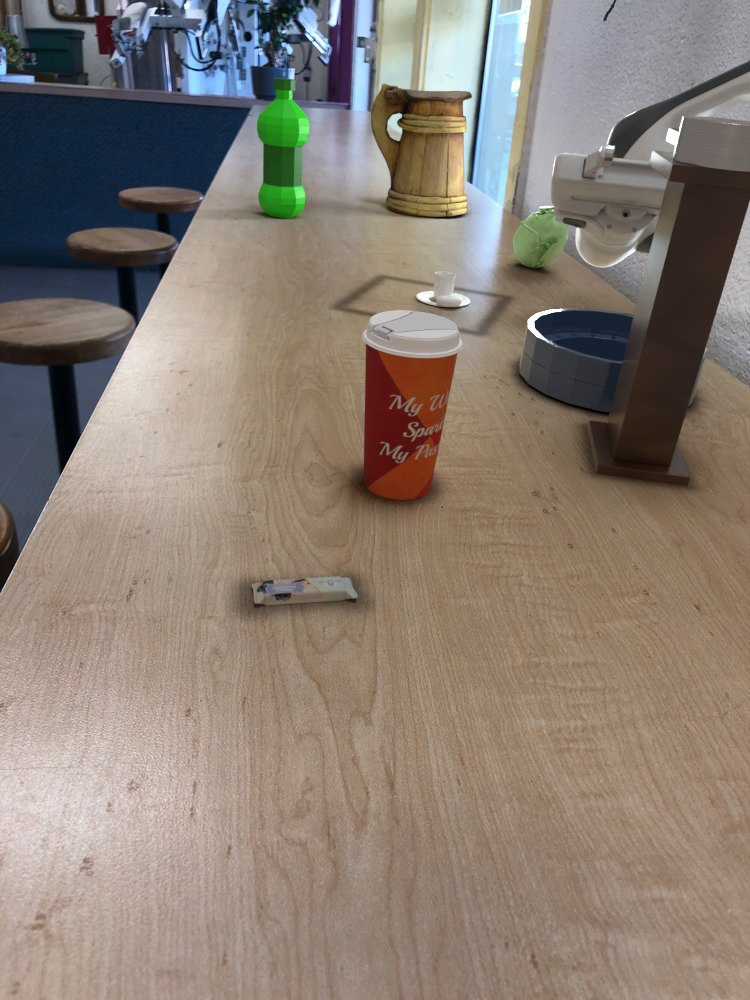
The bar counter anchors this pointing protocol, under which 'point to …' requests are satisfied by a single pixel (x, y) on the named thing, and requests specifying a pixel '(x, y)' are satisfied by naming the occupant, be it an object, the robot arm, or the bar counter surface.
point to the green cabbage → (540, 238)
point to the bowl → (578, 355)
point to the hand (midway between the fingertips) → (650, 156)
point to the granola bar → (303, 590)
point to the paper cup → (406, 399)
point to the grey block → (712, 143)
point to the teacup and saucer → (443, 292)
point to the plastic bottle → (282, 152)
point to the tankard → (423, 150)
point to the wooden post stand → (671, 321)
